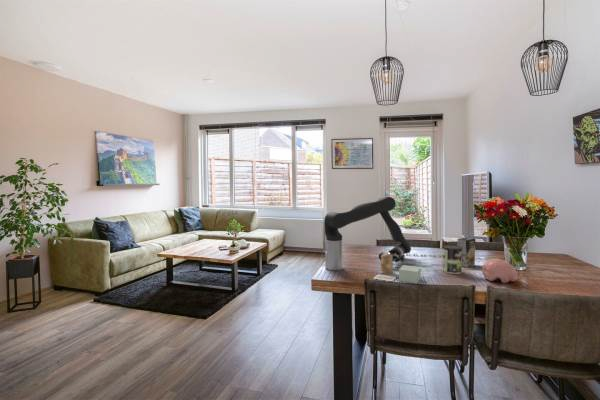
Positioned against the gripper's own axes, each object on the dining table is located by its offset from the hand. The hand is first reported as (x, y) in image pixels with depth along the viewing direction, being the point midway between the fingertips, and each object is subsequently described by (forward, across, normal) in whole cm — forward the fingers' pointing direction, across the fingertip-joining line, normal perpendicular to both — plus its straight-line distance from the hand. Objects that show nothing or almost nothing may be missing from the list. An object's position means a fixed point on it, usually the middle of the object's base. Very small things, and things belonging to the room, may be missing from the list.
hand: (388, 259), depth 183 cm
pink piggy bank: (-10, +54, +7) cm, 55 cm away
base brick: (+10, +14, +6) cm, 19 cm away
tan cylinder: (+3, 0, +6) cm, 7 cm away
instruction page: (+14, +2, +6) cm, 16 cm away
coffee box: (-34, +37, +6) cm, 51 cm away
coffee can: (-16, +31, +7) cm, 36 cm away
